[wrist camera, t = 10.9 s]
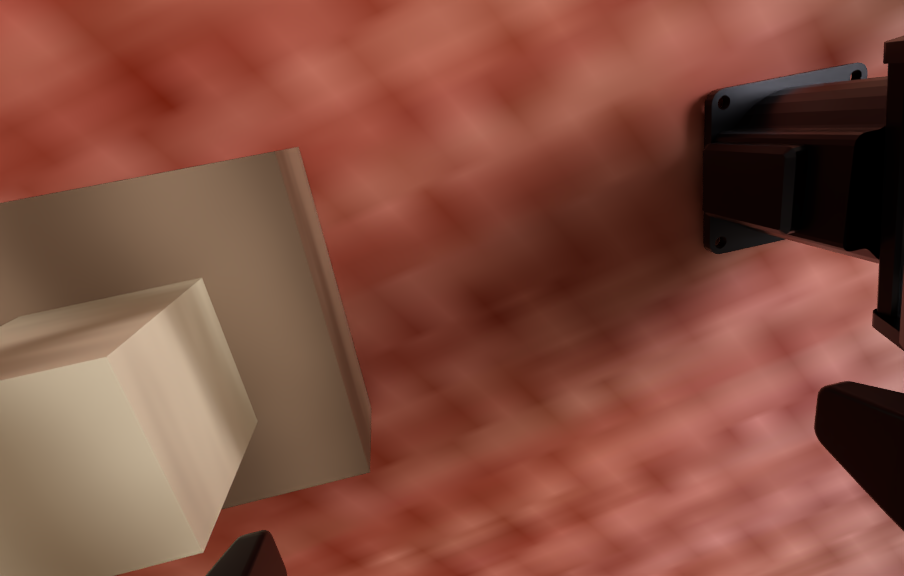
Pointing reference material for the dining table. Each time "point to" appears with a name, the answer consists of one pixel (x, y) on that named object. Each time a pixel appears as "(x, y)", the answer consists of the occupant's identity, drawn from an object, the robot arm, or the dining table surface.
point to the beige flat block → (216, 296)
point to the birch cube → (117, 432)
